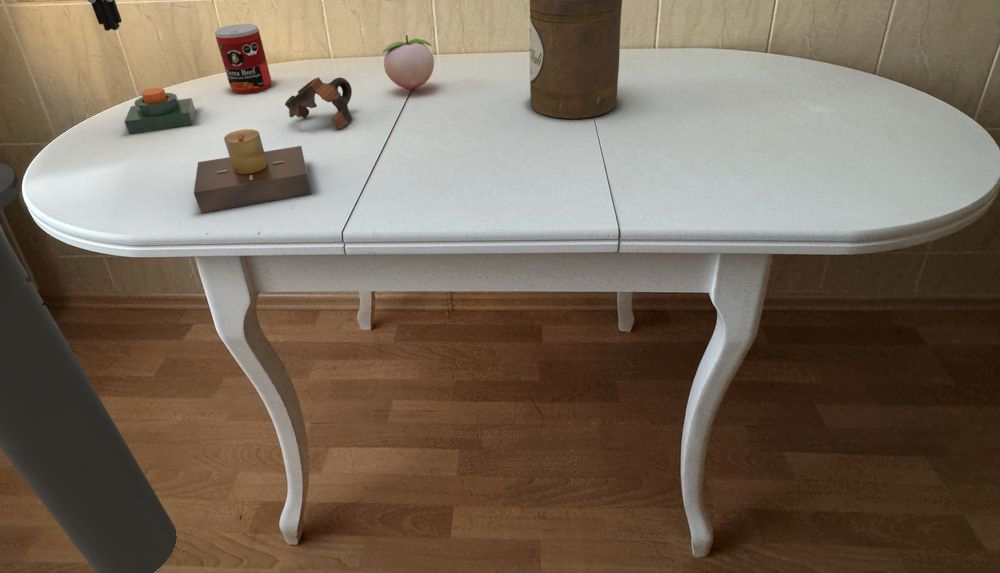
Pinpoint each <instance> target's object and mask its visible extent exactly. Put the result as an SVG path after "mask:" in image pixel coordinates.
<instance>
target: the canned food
mask: <svg viewBox="0 0 1000 573" xmlns="http://www.w3.org/2000/svg"><path fill="white" fill-rule="evenodd" d="M214 35H215V39H216V43H217V46H218V50H219V54H220V56H221V59H222V64H223V67H224V70H225V73H226V77H227V81H228V82H229V83H228V84H229V86H230V89H231V91H232V92H233V93H235V94H240V95H246V94H255V93H260V92H263V91H265V90H267V89H269V88H270V87H271V86H272V77H271V74H270V69H269V65H268V61H267V58H266V52H265V49H264V44H263V41H262V37H261V33H260V29H259V26H258V25H257V24H252V23H240V24H239V23H238V24H231V25H226V26H222V27H220V28H217V29H216V30H214Z"/></svg>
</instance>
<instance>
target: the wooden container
mask: <svg viewBox="0 0 1000 573" xmlns="http://www.w3.org/2000/svg"><path fill="white" fill-rule="evenodd" d="M622 4H623V0H529V87H530V89H529V90H530V92H529V93H530V106H531V108H532V110H534V111H535V112H537V113H538V114H541V115H544V116H546V117H547V116H548V117H550V118H551V117H552V118H557V119H568V120H570V119H571V120H572V119H573V120H574V119H575V120H576V119H588V118H593V117H598V116H601V115H604V114H607V113H609V112H610V111H612V110H613V109H614V108H616V105H617V99H618V84H619V70H620V52H621V51H620V50H621V49H620V46H621V23H622V22H621V21H622V8H623V7H622V6H623V5H622Z"/></svg>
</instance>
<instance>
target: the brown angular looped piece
mask: <svg viewBox="0 0 1000 573" xmlns="http://www.w3.org/2000/svg"><path fill="white" fill-rule="evenodd" d="M339 88H341V92H342V94H341V92H339ZM352 90H353V88H352V86H351V84H350V82H349V81H348V80H347V79H346V78H344V77H336V78H334V79H333V80H331V81H330V82H328V83H327V82H323V81H322V80H321V78H320V77H315V78H313V79H311V80H310V81H309V82H308V83H306V84H305V85H303V87H301V88H300V89H299V90H298V91H297V94H296V95H295V94H294V95H293V94H292V95H291V96H290V97H289V98H288V99H286V101H285V103H284V106H286V107H287V109H288V111H289V112H288V114H289V118H293V117H297V118H302V119H307V118H308V116H309V114H310V110H309V109H315V108H316V107H318V105H317V103H316V99H315V98H316V97H315V96H316V95H317V96H319V97H320V98H321V100H323V101H325V102H327V103H331V104H332V105H334V107H335V108H336V110H337V112H336V113H335V114H333V116H331V119H330V120H331V121H332V122H333V123H334V124H335V126H336V128H337V130H341V129H342V128H344V127H345V126H346V125H347V124H348V123H349V122H350V121H351V120H352V119H353V117H352V115H351V113H350V110H349V106H348V105H349V102H350V101H351V98H352V95H353V94H352V93H353V91H352ZM308 108H309V109H308Z"/></svg>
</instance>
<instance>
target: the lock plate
mask: <svg viewBox="0 0 1000 573" xmlns="http://www.w3.org/2000/svg"><path fill="white" fill-rule="evenodd" d="M264 153H265V156H266V160H267V164H268V165H267V167H266V168H265V169H263V170H261V171H259V172H255V173H251V174H239V173H236V172H235V171H234V170H233V166H232V163H231V160H230V157H229V156H228V157H222V158H215V159H209V160H203V161H198V162H197V166H196V175H195V182H194V188H193V195H194V197H195V198H194V199H195V200H196V203H197V205H198V209H199V211H200V213H201V214H205V213H212V212H216V211H223V210H227V209H232V208H238V207H240V208H241V207H244V206H249V205H256V204H262V203H268V202H274V201H279V200H285V199H290V198H296V197H302V196H307V195H312V188H311V184H310V183H311V182H310V179H309V178H310V177H309V172H308V169H307V165H306V164H307V163H306V160H305V155H304V150H303V148H302V145H297V146H291V147H285V148H279V149H272V150H271V149H270V150H266V151H265V150H264Z"/></svg>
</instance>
